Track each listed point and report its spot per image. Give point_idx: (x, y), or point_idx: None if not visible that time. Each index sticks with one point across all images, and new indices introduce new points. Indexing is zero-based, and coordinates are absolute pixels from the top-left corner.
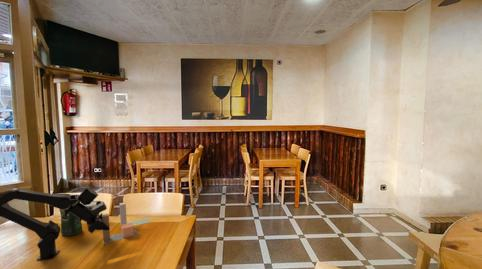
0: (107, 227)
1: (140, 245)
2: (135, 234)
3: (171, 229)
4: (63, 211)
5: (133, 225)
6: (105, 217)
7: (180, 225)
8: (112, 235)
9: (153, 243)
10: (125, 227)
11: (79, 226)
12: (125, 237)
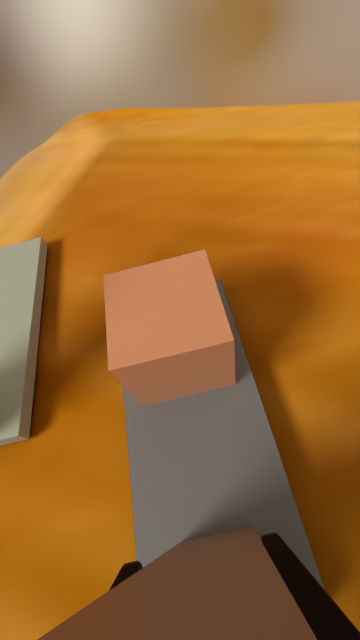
0: (327, 598)
1: (356, 257)
2: None
3: (181, 154)
4: None
5: (25, 336)
6: None
7: (153, 132)
8: (141, 514)
9: (336, 198)
10: (209, 315)
11: None
12: (235, 364)
